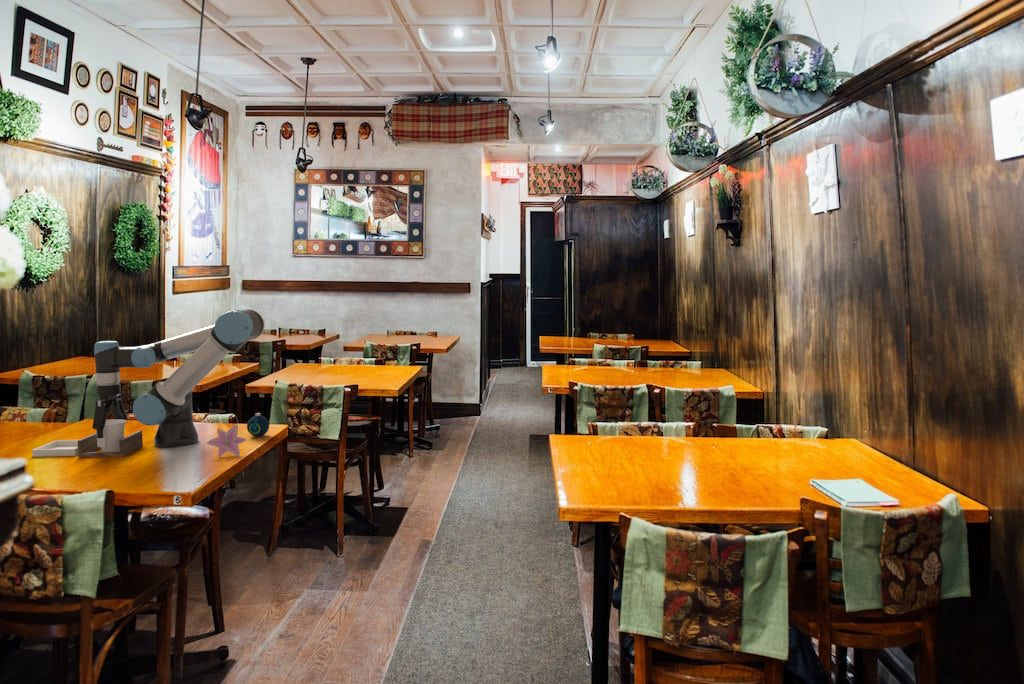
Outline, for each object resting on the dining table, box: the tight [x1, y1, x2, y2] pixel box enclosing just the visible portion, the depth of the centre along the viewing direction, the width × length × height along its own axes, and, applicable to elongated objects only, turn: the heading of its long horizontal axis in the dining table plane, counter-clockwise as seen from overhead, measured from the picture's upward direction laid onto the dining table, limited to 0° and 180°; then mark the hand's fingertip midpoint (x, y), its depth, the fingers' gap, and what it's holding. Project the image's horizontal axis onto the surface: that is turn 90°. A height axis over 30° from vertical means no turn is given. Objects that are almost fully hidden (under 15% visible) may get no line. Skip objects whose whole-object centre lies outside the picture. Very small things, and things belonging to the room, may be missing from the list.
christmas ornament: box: [246, 412, 270, 437], centre depth 262 cm, size 8×8×10 cm
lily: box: [206, 424, 247, 458], centre depth 236 cm, size 12×12×10 cm
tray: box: [31, 439, 79, 457], centre depth 238 cm, size 14×14×2 cm
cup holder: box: [77, 430, 144, 458], centre depth 237 cm, size 15×15×6 cm
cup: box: [95, 418, 127, 452], centre depth 237 cm, size 10×10×11 cm
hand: (111, 442), depth 237 cm, fingers open, 12 cm apart
